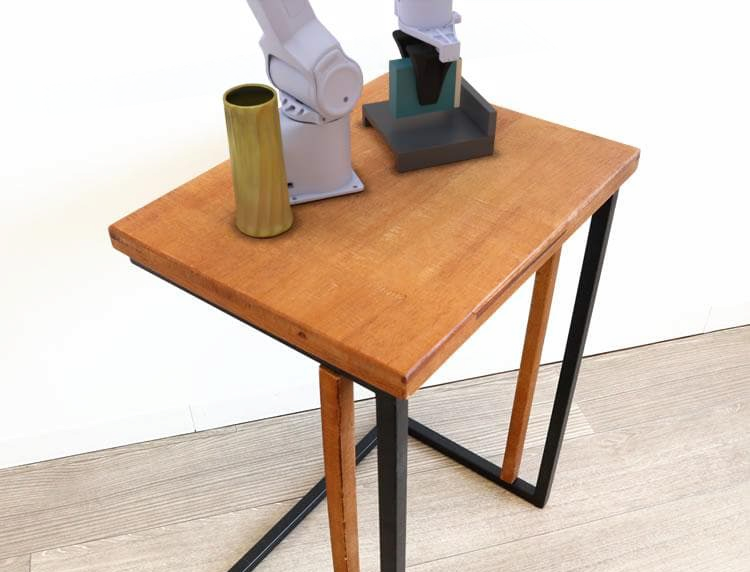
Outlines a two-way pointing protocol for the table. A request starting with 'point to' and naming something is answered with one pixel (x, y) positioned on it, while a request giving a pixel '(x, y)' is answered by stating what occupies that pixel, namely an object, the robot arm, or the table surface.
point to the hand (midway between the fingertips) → (423, 98)
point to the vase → (257, 160)
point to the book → (405, 90)
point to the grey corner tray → (436, 131)
